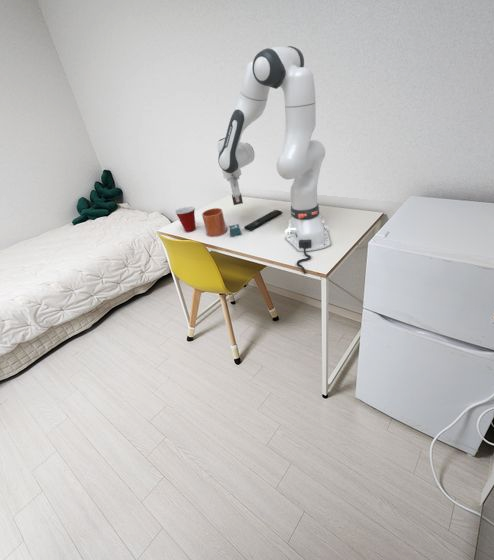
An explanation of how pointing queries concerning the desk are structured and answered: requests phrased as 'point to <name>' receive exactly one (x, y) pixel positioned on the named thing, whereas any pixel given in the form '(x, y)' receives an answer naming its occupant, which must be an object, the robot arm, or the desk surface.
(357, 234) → the desk surface
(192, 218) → the plastic cup
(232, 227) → the teal block
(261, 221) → the remote control
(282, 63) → the robot arm
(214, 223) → the terracotta cup
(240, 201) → the brown block
